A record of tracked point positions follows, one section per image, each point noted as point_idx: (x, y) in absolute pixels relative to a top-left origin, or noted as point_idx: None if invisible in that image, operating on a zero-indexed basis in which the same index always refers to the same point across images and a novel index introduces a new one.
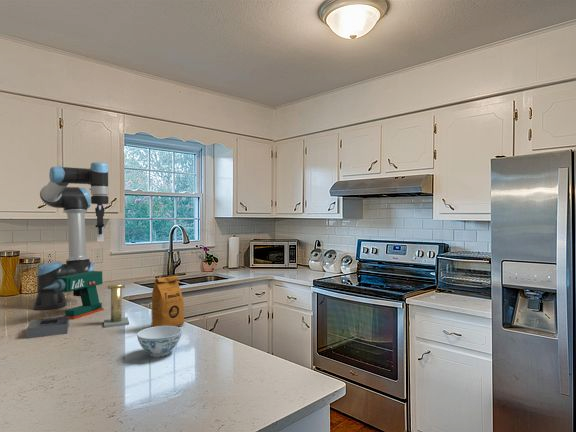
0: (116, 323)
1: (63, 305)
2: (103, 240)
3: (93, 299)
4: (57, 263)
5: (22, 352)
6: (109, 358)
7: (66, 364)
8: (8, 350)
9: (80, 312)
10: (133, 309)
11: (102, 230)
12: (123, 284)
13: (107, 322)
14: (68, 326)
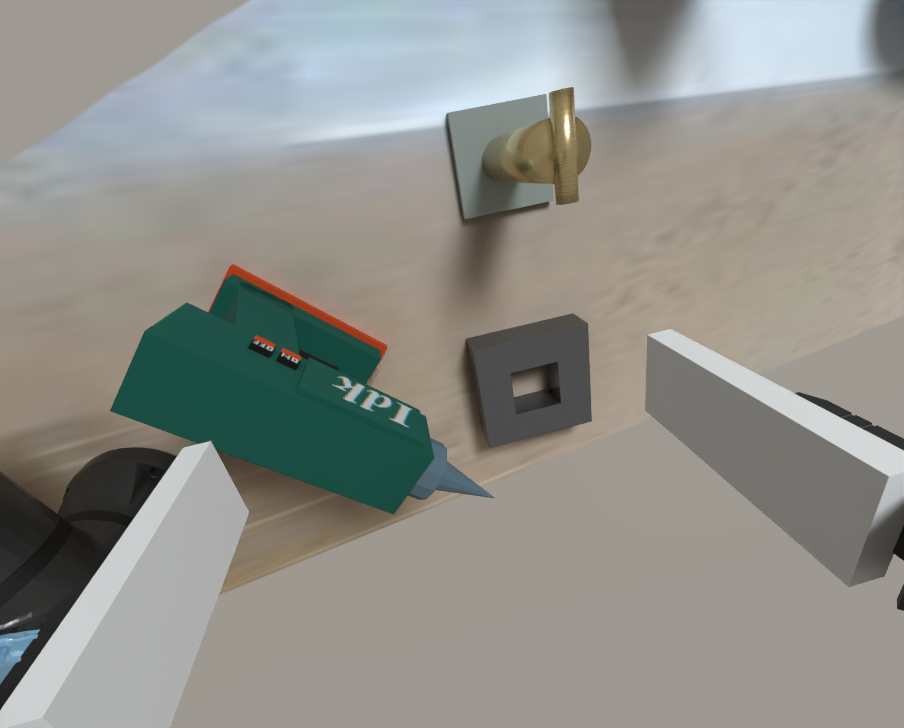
0: None
1: (152, 452)
2: (679, 336)
3: (272, 315)
4: (12, 664)
5: None
6: (878, 122)
7: (847, 234)
8: None
9: (351, 338)
10: (236, 100)
11: (832, 434)
12: (570, 97)
13: (514, 195)
14: (503, 331)
